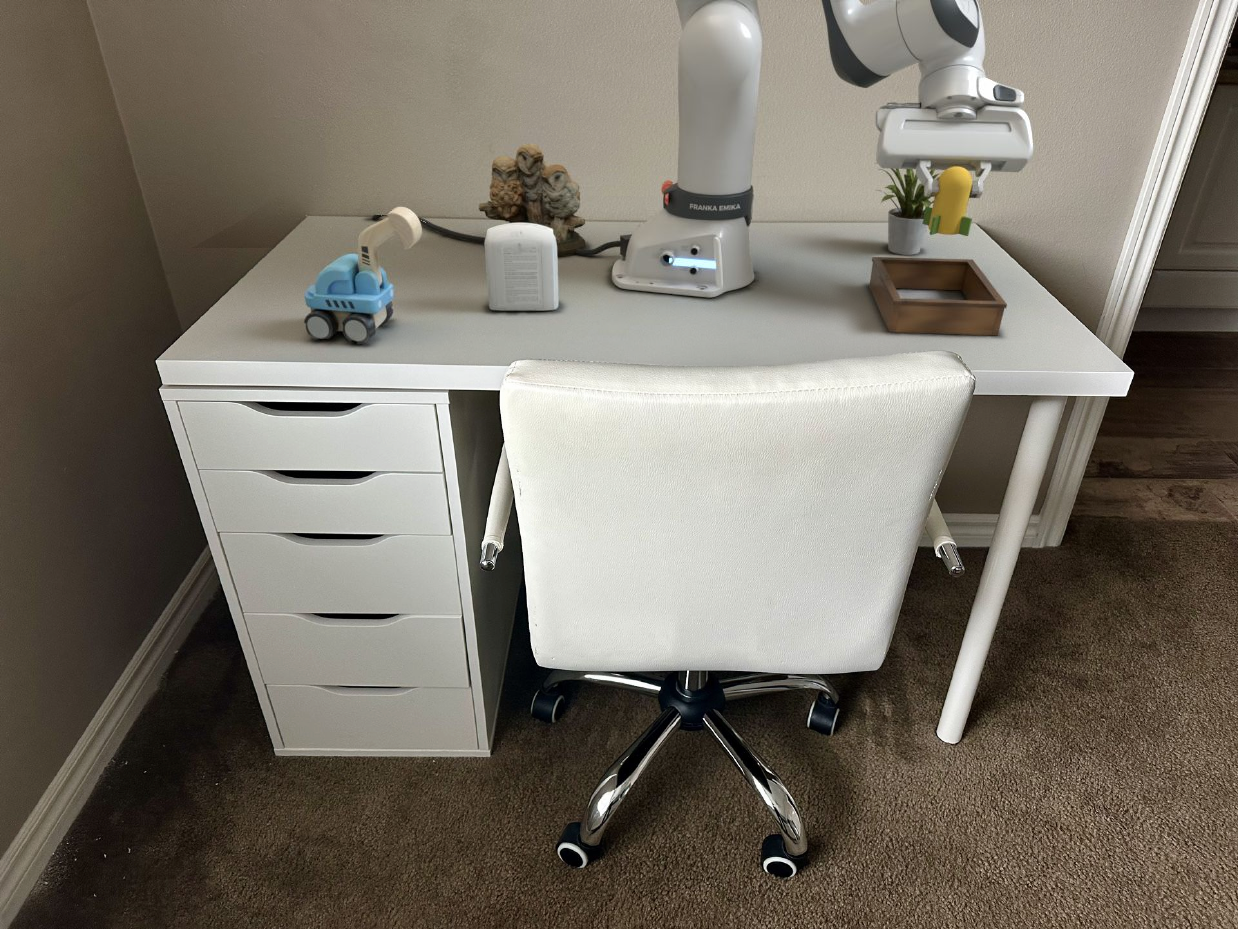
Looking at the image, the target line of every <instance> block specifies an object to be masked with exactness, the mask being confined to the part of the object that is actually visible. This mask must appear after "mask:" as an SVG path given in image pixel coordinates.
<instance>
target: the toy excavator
mask: <svg viewBox="0 0 1238 929" xmlns="http://www.w3.org/2000/svg"><path fill="white" fill-rule="evenodd" d="M391 210H392V211H390V212H389V213H387V216H386V217H385V218H384V219H382V220H379V221H378V222H375V223H374V224H372V225H370V226H368V227H366V228H364V229H363V230H362V231H361V232H360V233H359V236H358V239H357V254H356V253H347V254H344V255H341V256H339V257H338V258H336V259H335V260H333V261H332V262H330V263H329V264H328V265H327V266H325V267H323V268H322V269H321V270H320V271H319V273H318V274H317V277H316V280H315V283H313V284H311V285H310V286H309V287H308V289H307V290H305V292H304V299H305V300H304V301H305V305H306V307H308V308H310V312H309V313H308V314H307V315H306V316H305V318H304V321H303V323H304V324H305V331H306V332H307V334H308V336H310V337H311V338H312V339H314V340H317V341H319V340H328V339H330V338H332V336H334V335H335V334H336V333H337V332H342V335H343V336H344V337H345V338H346V339H347V340H349V342H352V341H355V342H356V345H364V344H366V343H367V342H368V341H369V340H370V339H371V338H372V337H373V336H374V335H375V334H376V330H377V329H378V328H379V327H380V326H383V325H385V324H386V323H387V322H388V321H389V320H390V319H391V318H392V317H393V314H394V309H393V302H392V300H393V299H395V291H394V285H393V283H390V282H388V277H387V273H386V270H385V269H384V268H383V267H382V266H380V260H379V254H378V247H379V246H380V245H381V244H383V243H384V242H386V241H387V240H388V239H390V238H391V237H393V236H395V235H397V236H398V238H399V240H400V242H401V244H402V248H403V249H404V250H405V251H406V250H409V249H410V248H412V247H413V246H415V244H416V243H418V242H419V241H420V239H421V237H422V234H423V227H422V224H421V223H420V221H419V219H418V217H419V216H417V214H416V213H415V212H414V211H412V210H411V209H410V208H407V207H405V206H397V207H395V208H393V209H391Z"/></svg>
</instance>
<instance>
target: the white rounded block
mask: <svg viewBox="0 0 1238 929" xmlns="http://www.w3.org/2000/svg"><path fill="white" fill-rule="evenodd" d="M507 223H508V224H507ZM507 223H503V224H499V225H495V226H491V227H489V228H487V231H486V235H485V243H483V244H484V257H485V258H484V259H485V272H486V287H487V300H488V308H489V309H490V310H491V311H555V310H557V309H558V308H559V305H560V304H559V302H560V301H559V268H558V267H559V266H558V262H559V261H558V257H557V243H556V238H555V236H554V234H553V229H551V228H549V227H546V226H543V225H538V224H533V223H510V222H507Z"/></svg>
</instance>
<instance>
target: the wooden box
mask: <svg viewBox="0 0 1238 929" xmlns="http://www.w3.org/2000/svg"><path fill="white" fill-rule="evenodd" d="M871 261H872V264H871V266H872V267H871V272H870V278H869V279H870V280H869V283H868V284H869V285H868V286H869V289H870V291H871V293H872V296H873V298H874V300H875V302H876V305H877V307H878V309H879V311H880V314H881V316H882V318H883V321H884V323H885V325H886V328H887V330H888V332H889V333H904V334H905V333H906V334H910V333H911V334H937V335H969V336H999V332H1000V328H1001V324H1002V320H1003V316H1004V313H1005V309H1007V307H1008V303H1006V301H1005V300H1004V298H1003V297H1002V296H1001V295H1000V293H999V291H997V289H996V288H995V286H994V285H993V284H992V283H991V282H990V280H989V279H988V278H987V276H986V275H985V274H984V272H983V271H982V270H981V268H980V267H979V265H978V264H977V263H976V261H975V260H974V259H970V258H969V259H968V258H967V259H965V258H936V257H935V258H931V257H897V256H896V257H895V256H894V257H891V256H872V258H871ZM897 289H902V290H903V289H905V290H907V289H909V290H941V291H942V290H944V291H961V292H962V293H963V294H964V296H965V297H966V299H965V300H964V299H937V298H936V299H935V298H933V299H932V298H904V297H903V298H902V297H901V296H900V295H899V292H898V291H897Z"/></svg>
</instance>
